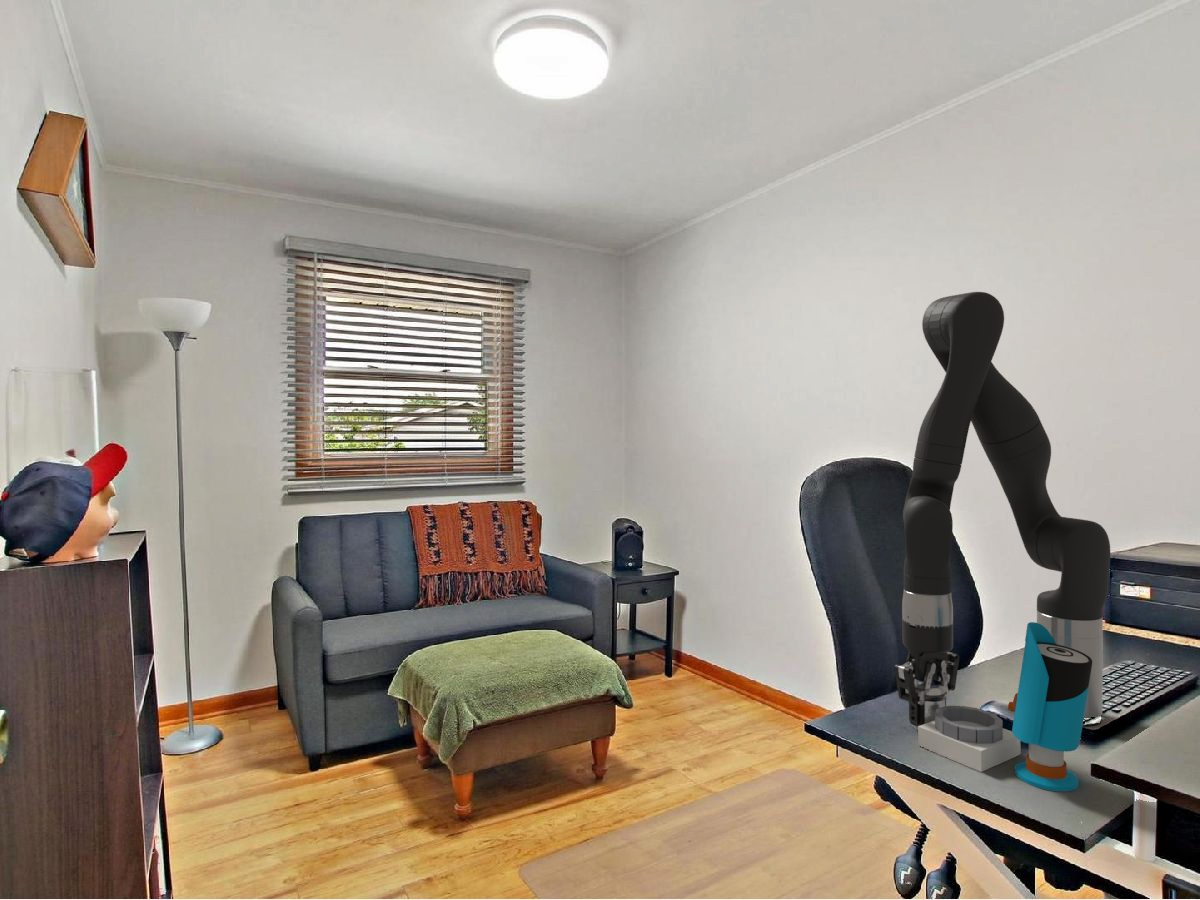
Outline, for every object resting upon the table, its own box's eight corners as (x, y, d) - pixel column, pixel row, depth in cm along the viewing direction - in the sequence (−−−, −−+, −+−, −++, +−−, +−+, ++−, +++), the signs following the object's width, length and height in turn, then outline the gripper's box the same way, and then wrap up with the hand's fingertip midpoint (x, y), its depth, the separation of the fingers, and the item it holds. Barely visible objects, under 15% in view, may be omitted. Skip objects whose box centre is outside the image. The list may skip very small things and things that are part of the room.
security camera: (1089, 640, 92) (1001, 627, 98) (1088, 802, 93) (1001, 779, 99) (1095, 625, 98) (1012, 614, 105) (1095, 777, 99) (1013, 757, 105)
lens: (923, 717, 120) (923, 675, 120) (951, 728, 116) (951, 684, 116) (904, 724, 117) (903, 681, 117) (932, 735, 113) (932, 691, 113)
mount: (957, 730, 115) (957, 699, 115) (1020, 754, 106) (1020, 721, 106) (918, 745, 110) (917, 713, 110) (981, 771, 101) (981, 737, 101)
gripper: (933, 607, 123) (933, 704, 123) (878, 619, 116) (879, 723, 116) (975, 616, 116) (975, 719, 117) (920, 630, 109) (920, 740, 110)
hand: (927, 721), depth 117 cm, fingers closed on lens, 5 cm apart
